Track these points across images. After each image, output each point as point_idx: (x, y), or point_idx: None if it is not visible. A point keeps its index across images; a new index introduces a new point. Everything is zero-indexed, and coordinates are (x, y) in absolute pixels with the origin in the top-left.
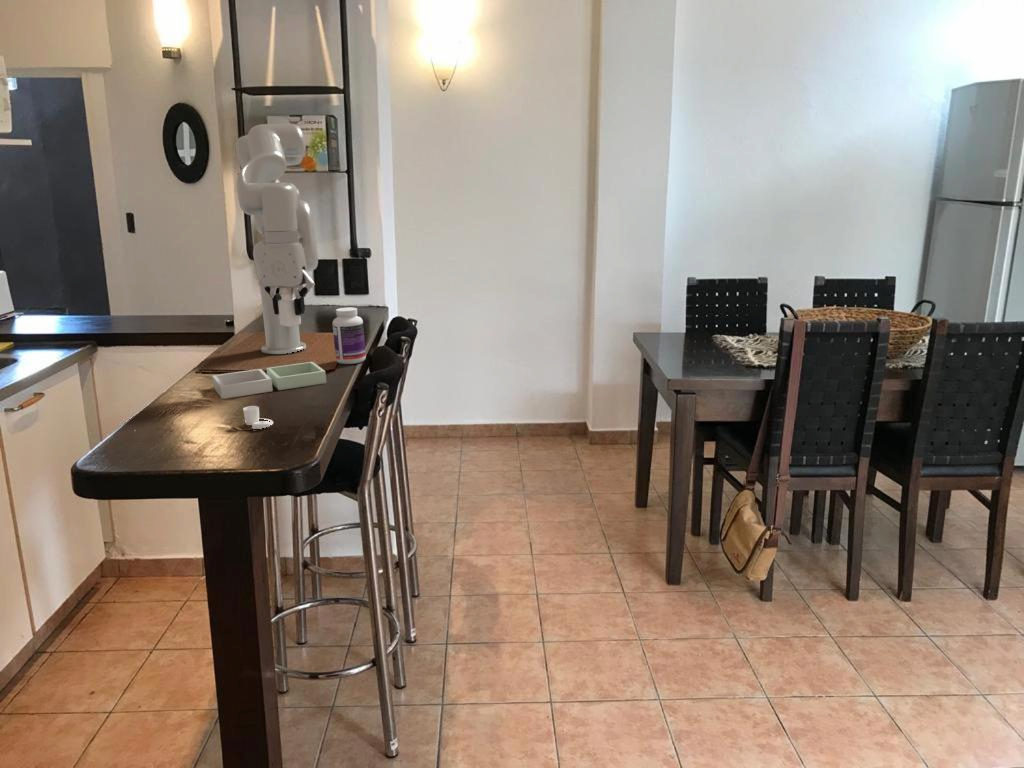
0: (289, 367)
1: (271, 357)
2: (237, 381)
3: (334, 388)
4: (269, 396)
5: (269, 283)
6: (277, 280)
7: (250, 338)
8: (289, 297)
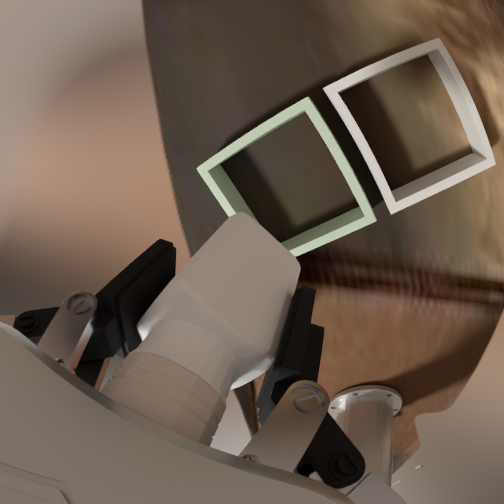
0: (317, 236)
1: (385, 373)
2: (438, 172)
3: (177, 118)
4: (314, 47)
5: (265, 502)
6: (107, 483)
7: (411, 440)
8: (149, 335)
